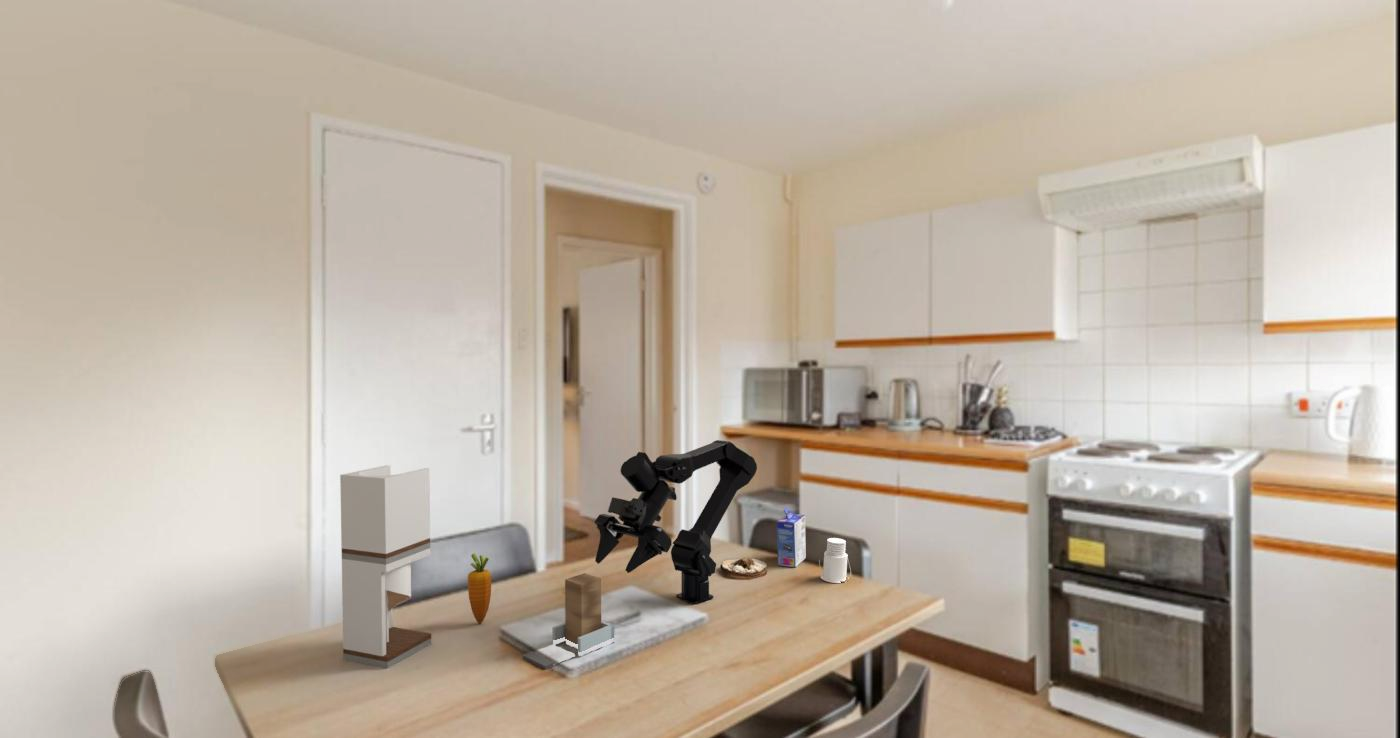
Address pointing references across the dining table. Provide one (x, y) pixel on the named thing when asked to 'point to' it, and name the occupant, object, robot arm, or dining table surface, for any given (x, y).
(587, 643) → the sleeve
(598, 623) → the walnut block
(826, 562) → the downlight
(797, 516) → the ink cartridge box
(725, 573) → the cream topped pie
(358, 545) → the tall white cubby shelf
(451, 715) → the dining table surface
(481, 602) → the carrot
